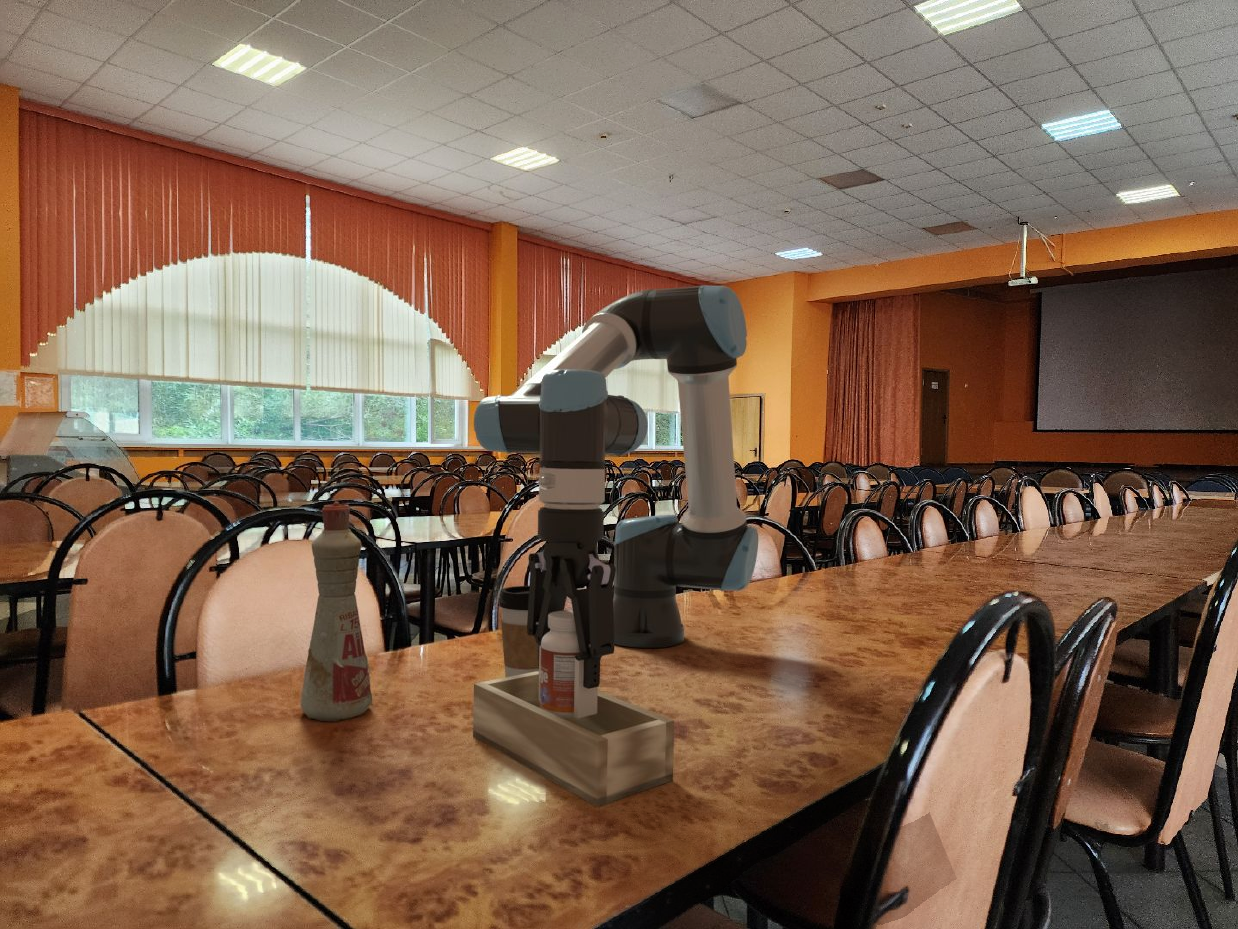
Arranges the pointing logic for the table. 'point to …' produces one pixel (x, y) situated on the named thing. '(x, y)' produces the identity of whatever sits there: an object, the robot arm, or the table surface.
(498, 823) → the table surface
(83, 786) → the table surface
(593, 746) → the wooden box
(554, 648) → the pill bottle
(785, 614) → the table surface
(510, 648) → the coffee cup
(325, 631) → the bottle
